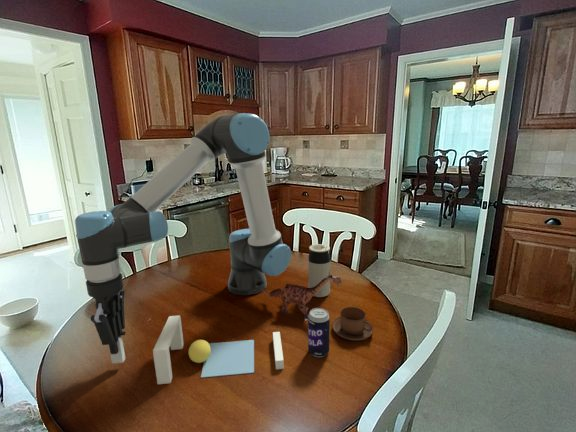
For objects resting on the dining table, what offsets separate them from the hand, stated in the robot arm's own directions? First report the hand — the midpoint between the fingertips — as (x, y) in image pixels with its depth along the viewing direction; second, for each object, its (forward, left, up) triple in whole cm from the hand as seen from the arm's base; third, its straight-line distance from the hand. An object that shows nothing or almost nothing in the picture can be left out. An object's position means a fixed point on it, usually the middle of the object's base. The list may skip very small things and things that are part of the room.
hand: (118, 360), depth 80 cm
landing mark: (-28, 0, -2) cm, 28 cm away
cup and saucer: (-64, -7, -2) cm, 64 cm away
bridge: (-13, 0, -2) cm, 13 cm away
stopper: (-41, 0, -2) cm, 41 cm away
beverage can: (-52, +1, -2) cm, 52 cm away
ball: (-20, 0, +1) cm, 20 cm away
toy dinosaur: (-49, -20, -2) cm, 53 cm away
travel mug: (-59, -32, -2) cm, 67 cm away
